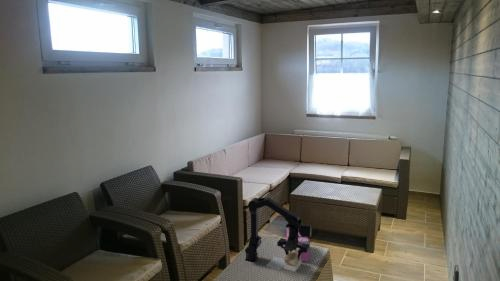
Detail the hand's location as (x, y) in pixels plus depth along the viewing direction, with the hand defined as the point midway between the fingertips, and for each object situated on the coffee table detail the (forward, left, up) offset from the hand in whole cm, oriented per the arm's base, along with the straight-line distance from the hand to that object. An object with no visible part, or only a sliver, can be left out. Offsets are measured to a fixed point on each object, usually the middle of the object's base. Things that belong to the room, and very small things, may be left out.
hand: (292, 258), depth 224 cm
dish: (0, 0, -6) cm, 6 cm away
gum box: (-4, +17, -6) cm, 19 cm away
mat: (-10, -1, -6) cm, 11 cm away
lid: (0, 0, -1) cm, 1 cm away
